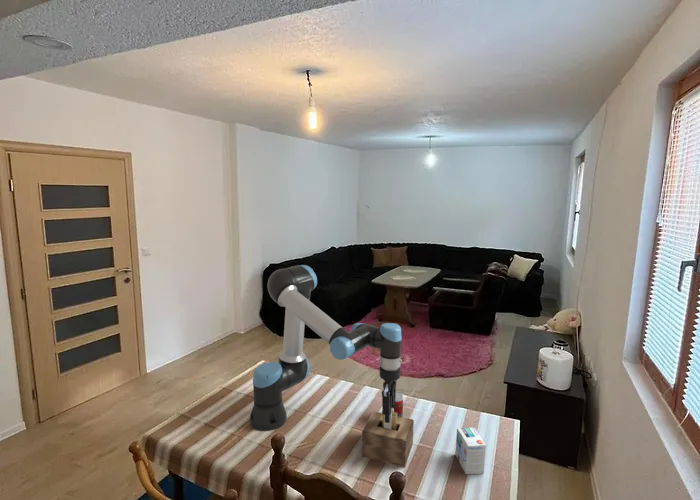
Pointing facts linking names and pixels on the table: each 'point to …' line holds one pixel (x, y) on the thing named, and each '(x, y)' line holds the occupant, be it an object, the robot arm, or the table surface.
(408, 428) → the brown block with hole
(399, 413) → the canned food
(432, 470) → the table surface
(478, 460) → the light bulb box
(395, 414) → the butter stick block
